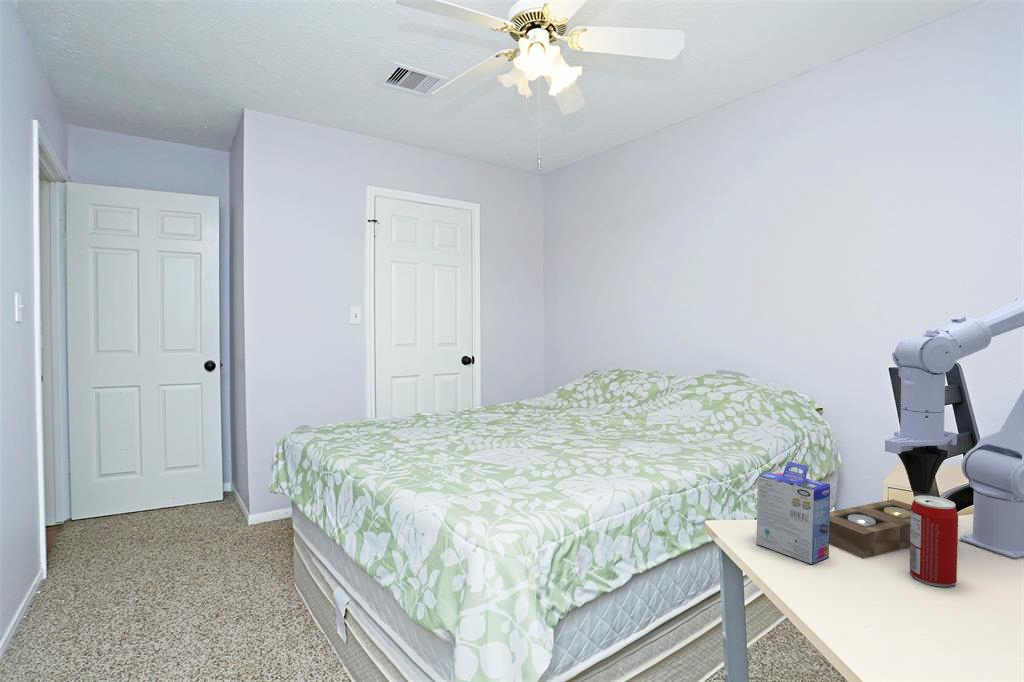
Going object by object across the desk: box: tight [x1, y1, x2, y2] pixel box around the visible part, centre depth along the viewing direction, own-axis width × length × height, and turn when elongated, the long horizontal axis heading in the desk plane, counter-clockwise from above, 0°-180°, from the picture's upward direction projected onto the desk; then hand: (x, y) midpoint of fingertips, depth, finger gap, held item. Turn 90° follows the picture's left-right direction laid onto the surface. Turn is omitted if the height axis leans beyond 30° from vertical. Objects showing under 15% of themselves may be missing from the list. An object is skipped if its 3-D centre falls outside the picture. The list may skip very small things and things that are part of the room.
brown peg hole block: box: [829, 498, 912, 559], centre depth 95 cm, size 20×9×4 cm, turn 111°
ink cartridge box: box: [755, 461, 831, 565], centre depth 90 cm, size 10×6×14 cm, turn 34°
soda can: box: [909, 495, 959, 588], centre depth 80 cm, size 6×6×12 cm
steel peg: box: [848, 514, 875, 526], centre depth 94 cm, size 4×4×4 cm
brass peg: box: [884, 507, 911, 518], centre depth 97 cm, size 4×4×4 cm
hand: (920, 491), depth 89 cm, fingers closed
